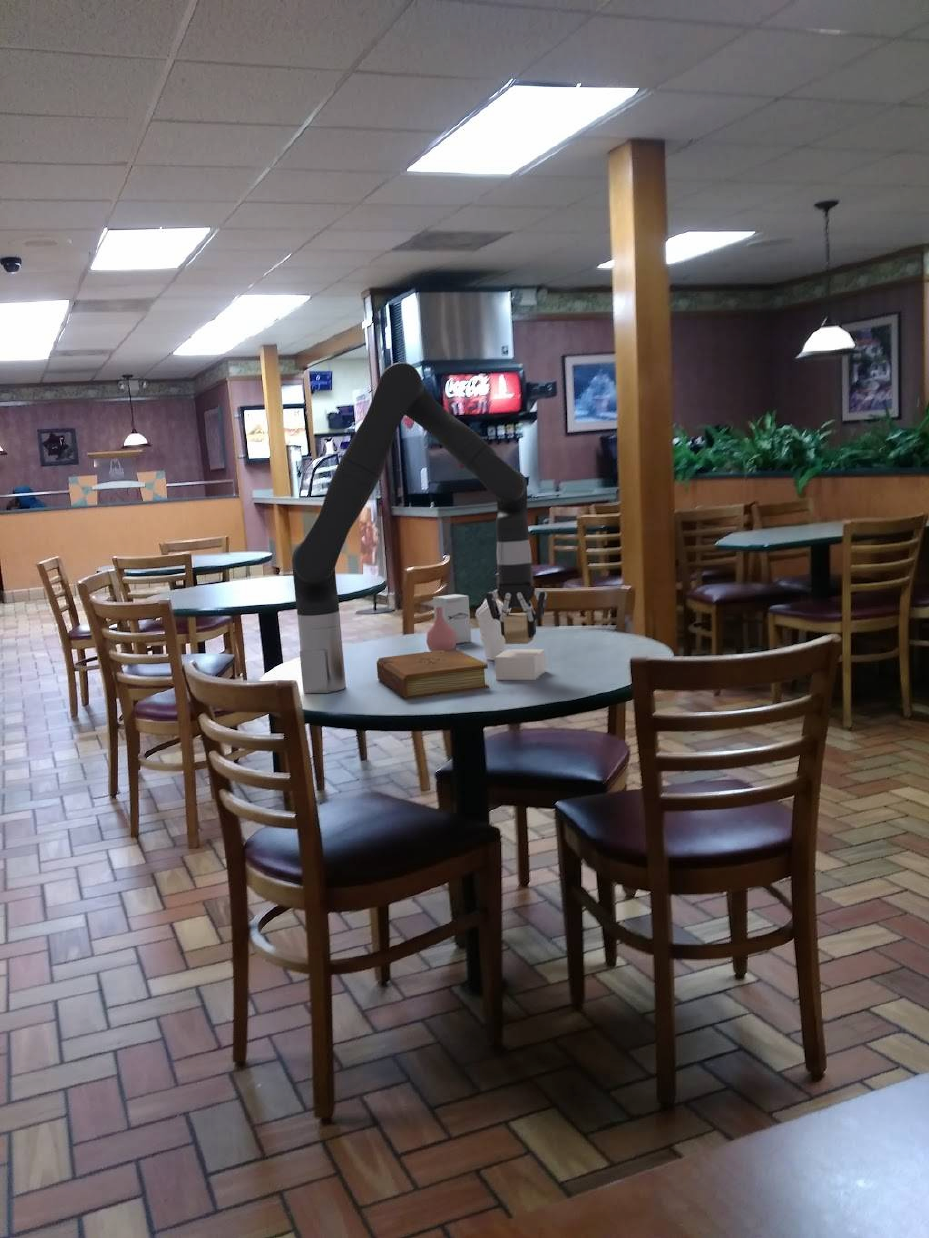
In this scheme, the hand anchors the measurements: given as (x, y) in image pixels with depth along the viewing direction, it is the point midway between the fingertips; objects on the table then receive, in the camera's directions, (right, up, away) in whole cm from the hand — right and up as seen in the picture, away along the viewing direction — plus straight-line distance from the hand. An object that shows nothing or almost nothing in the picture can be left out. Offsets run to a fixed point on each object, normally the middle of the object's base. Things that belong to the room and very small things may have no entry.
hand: (519, 637), depth 226 cm
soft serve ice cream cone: (-5, -6, +23) cm, 24 cm away
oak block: (0, -1, 0) cm, 1 cm away
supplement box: (-15, -2, +51) cm, 53 cm away
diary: (-19, -11, -1) cm, 22 cm away
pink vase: (-18, -5, +34) cm, 38 cm away
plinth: (+1, -8, +1) cm, 9 cm away
